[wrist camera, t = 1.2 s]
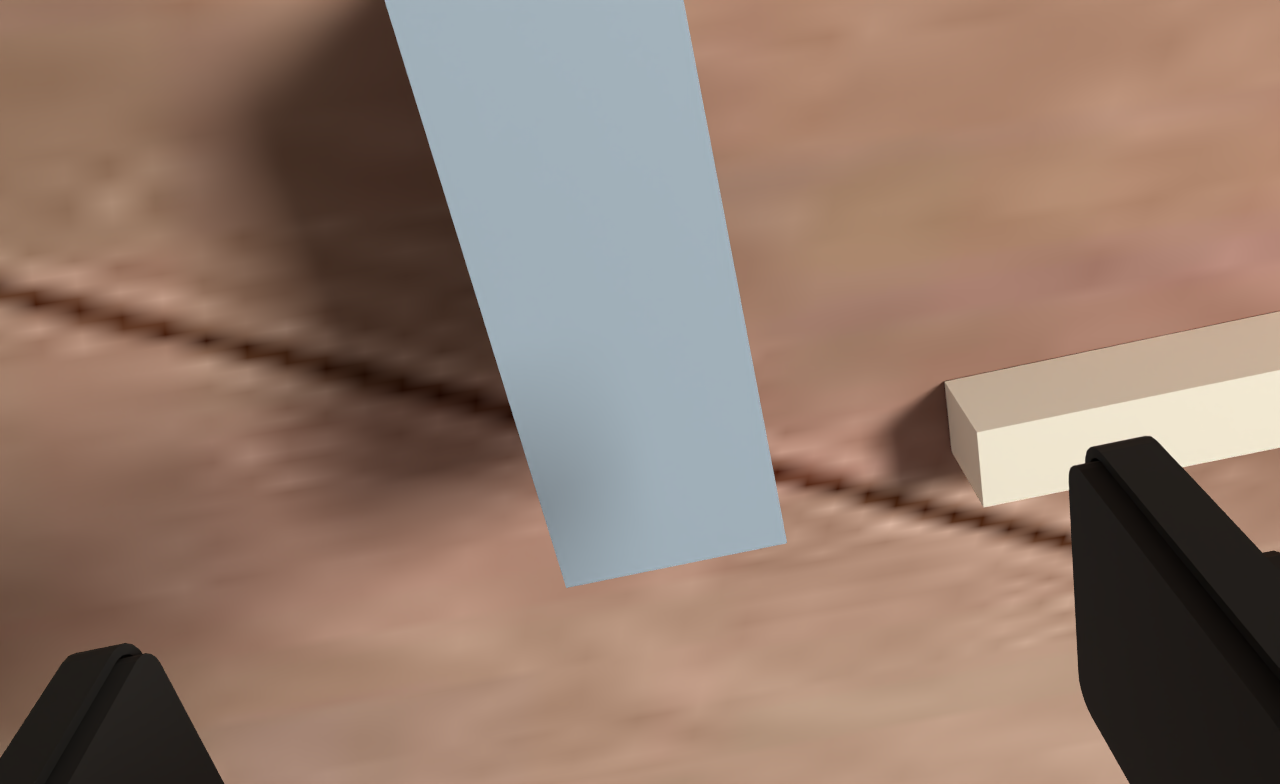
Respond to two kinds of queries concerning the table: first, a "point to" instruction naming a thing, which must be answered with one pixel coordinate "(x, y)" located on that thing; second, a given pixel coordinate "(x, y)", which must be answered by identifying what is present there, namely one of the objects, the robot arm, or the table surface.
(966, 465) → the rail
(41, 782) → the robot arm
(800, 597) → the table surface
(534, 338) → the grey-blue plate
